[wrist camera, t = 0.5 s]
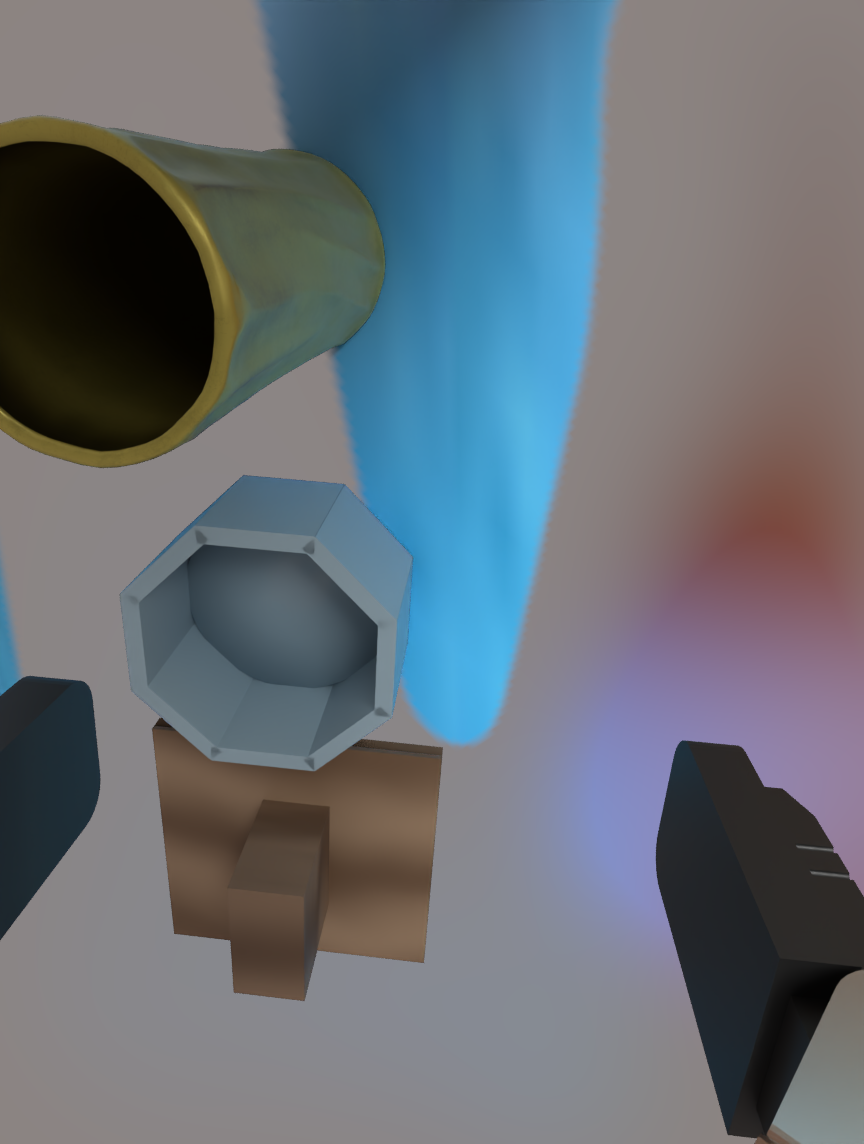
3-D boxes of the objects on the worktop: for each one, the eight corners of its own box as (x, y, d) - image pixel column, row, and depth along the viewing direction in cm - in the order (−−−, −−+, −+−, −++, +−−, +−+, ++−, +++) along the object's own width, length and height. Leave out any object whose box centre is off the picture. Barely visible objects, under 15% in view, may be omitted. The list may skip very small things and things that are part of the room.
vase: (293, 391, 27) (102, 559, 14) (160, 248, 25) (-198, 286, 12) (425, 267, 25) (343, 329, 12) (288, 101, 23) (23, -37, 10)
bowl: (172, 468, 28) (110, 517, 24) (417, 490, 28) (400, 544, 23) (189, 676, 32) (138, 752, 28) (404, 698, 32) (388, 779, 27)
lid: (159, 717, 34) (97, 810, 29) (443, 747, 33) (432, 846, 28) (180, 920, 39) (130, 1029, 34) (425, 948, 39) (413, 1064, 33)
